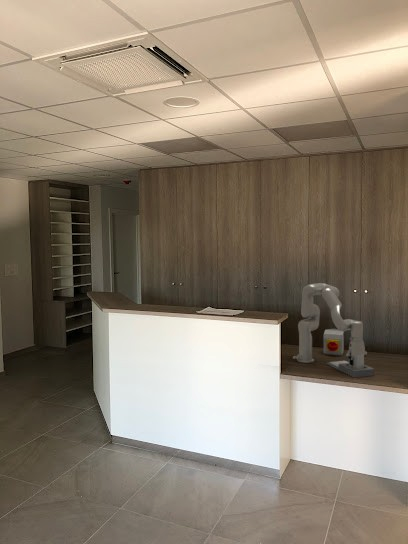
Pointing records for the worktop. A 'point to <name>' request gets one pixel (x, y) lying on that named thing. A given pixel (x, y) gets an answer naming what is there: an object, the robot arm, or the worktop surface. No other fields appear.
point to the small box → (357, 362)
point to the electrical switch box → (333, 342)
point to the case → (345, 368)
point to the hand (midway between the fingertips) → (356, 364)
